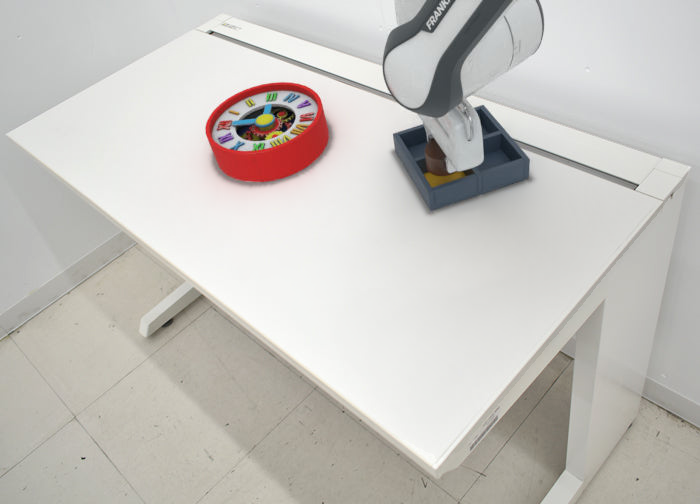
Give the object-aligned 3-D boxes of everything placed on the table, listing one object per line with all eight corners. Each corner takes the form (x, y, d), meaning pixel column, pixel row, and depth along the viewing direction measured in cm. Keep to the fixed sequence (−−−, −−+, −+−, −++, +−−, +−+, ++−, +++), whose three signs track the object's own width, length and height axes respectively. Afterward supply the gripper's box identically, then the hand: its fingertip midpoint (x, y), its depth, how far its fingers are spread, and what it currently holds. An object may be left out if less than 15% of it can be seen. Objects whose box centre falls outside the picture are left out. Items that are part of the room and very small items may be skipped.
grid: (483, 123, 99) (483, 104, 97) (528, 178, 89) (530, 159, 86) (395, 151, 98) (392, 133, 96) (430, 211, 88) (428, 192, 85)
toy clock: (315, 147, 93) (192, 159, 96) (323, 176, 97) (205, 187, 100) (327, 76, 106) (219, 88, 109) (333, 104, 110) (229, 115, 114)
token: (452, 150, 90) (451, 133, 88) (466, 169, 86) (466, 153, 84) (421, 160, 89) (419, 144, 87) (433, 180, 86) (432, 164, 84)
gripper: (497, 104, 70) (496, 193, 80) (431, 29, 84) (437, 113, 94) (446, 120, 69) (451, 208, 79) (388, 42, 83) (398, 125, 93)
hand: (443, 156), depth 87 cm, fingers closed on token, 5 cm apart
